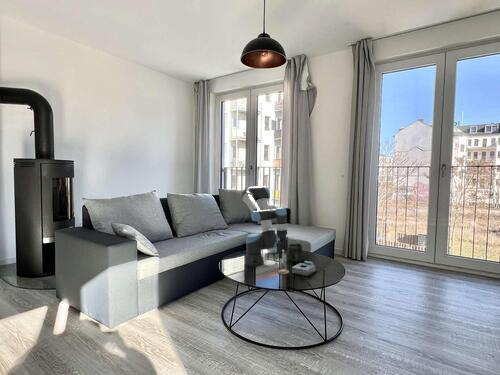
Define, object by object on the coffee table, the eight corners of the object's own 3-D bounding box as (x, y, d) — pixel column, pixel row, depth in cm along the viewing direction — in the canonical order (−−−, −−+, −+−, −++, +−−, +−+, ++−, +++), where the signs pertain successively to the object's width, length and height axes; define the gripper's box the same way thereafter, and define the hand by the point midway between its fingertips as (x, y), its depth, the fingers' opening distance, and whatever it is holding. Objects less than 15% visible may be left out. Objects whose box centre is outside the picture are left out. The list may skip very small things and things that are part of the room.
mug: (304, 261, 230) (304, 246, 230) (286, 262, 229) (286, 247, 228) (300, 257, 241) (300, 243, 240) (283, 258, 240) (283, 244, 239)
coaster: (275, 272, 207) (275, 272, 207) (281, 269, 213) (281, 268, 213) (285, 274, 202) (285, 274, 202) (291, 271, 208) (291, 270, 208)
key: (286, 269, 204) (285, 251, 203) (278, 268, 208) (277, 250, 207) (288, 268, 206) (287, 250, 206) (280, 266, 210) (280, 249, 210)
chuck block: (292, 272, 205) (291, 265, 205) (302, 266, 217) (302, 260, 217) (307, 276, 198) (307, 268, 197) (317, 269, 209) (316, 262, 209)
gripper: (280, 232, 197) (281, 265, 198) (292, 227, 210) (293, 259, 211) (270, 231, 202) (272, 264, 203) (283, 227, 214) (284, 258, 216)
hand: (283, 261), depth 207 cm, fingers closed on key, 3 cm apart
